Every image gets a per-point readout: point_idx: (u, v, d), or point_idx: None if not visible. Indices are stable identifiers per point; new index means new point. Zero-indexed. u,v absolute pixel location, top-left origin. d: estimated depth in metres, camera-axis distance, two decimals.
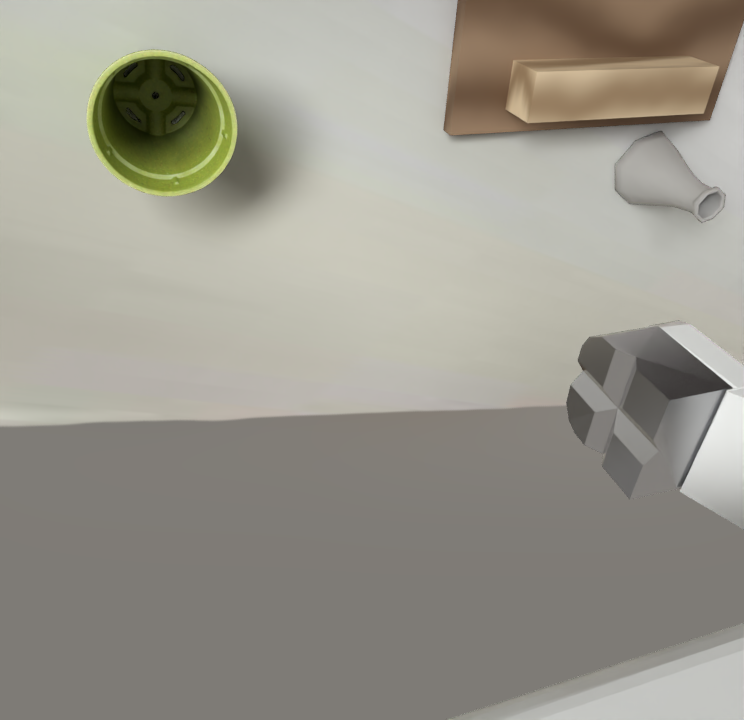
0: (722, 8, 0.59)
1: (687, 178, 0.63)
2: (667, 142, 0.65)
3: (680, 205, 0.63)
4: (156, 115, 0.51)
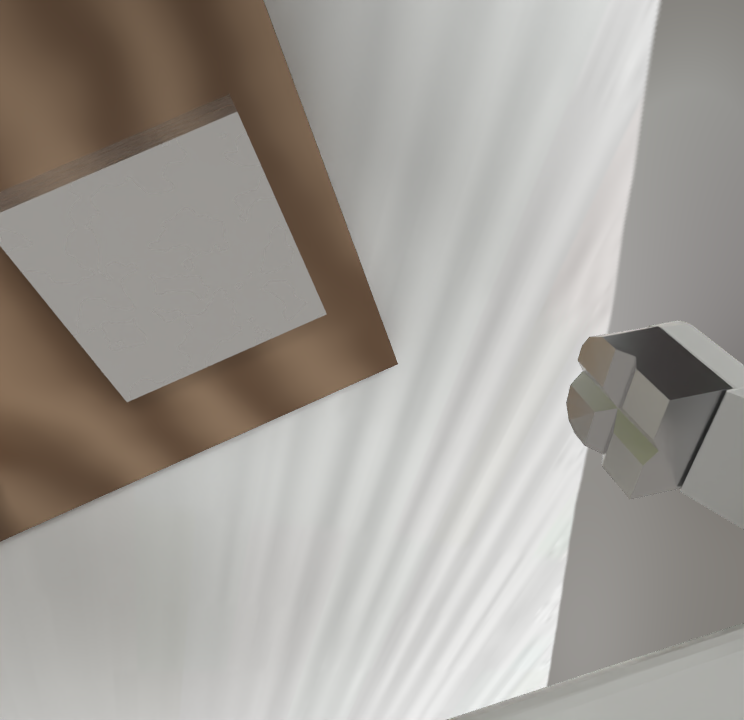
0: (78, 469, 0.42)
1: None
2: None
3: None
4: None
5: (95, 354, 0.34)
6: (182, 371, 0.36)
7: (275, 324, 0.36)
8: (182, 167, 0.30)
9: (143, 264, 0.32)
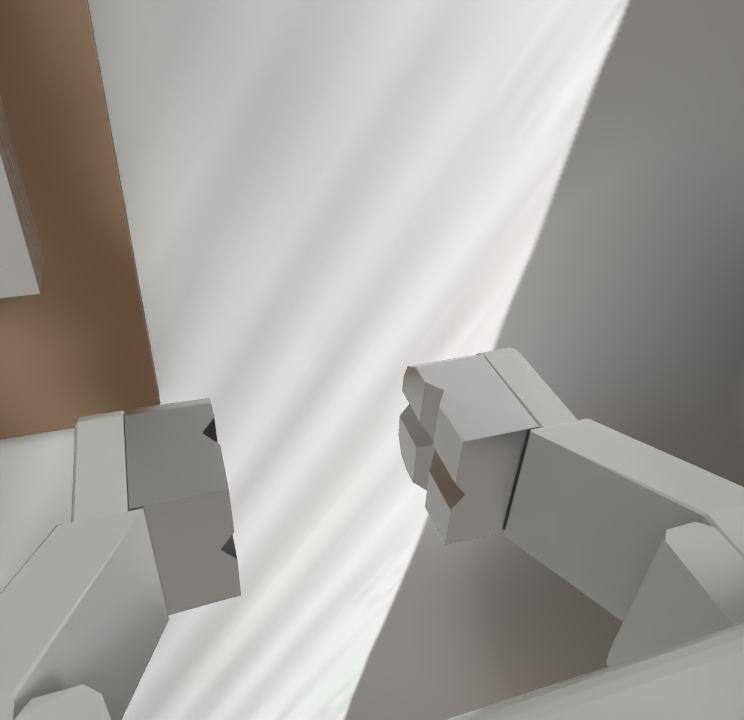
0: None
1: None
2: None
3: None
4: None
5: None
6: None
7: None
8: None
9: None
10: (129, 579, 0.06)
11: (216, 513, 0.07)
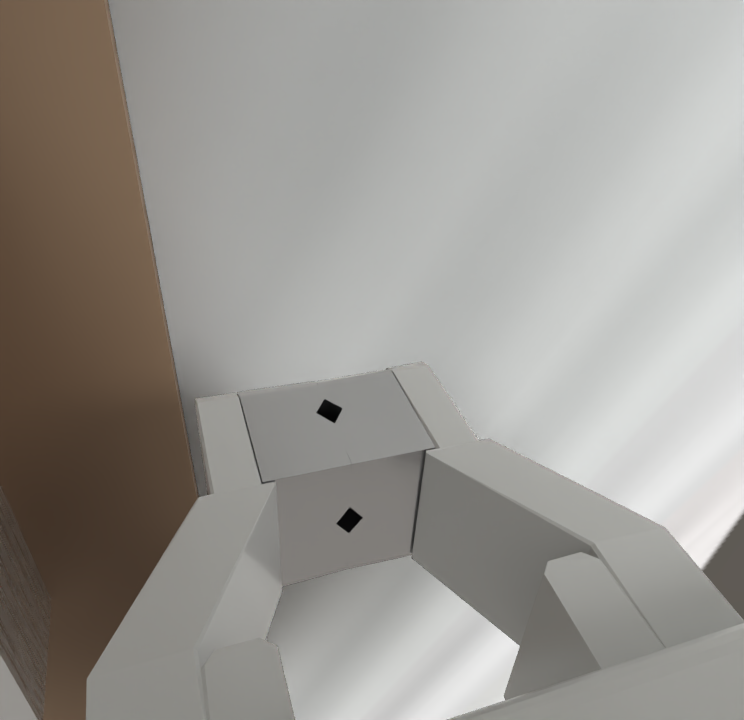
0: None
1: None
2: None
3: None
4: None
5: None
6: None
7: None
8: None
9: None
10: (264, 548, 0.07)
11: (337, 488, 0.07)
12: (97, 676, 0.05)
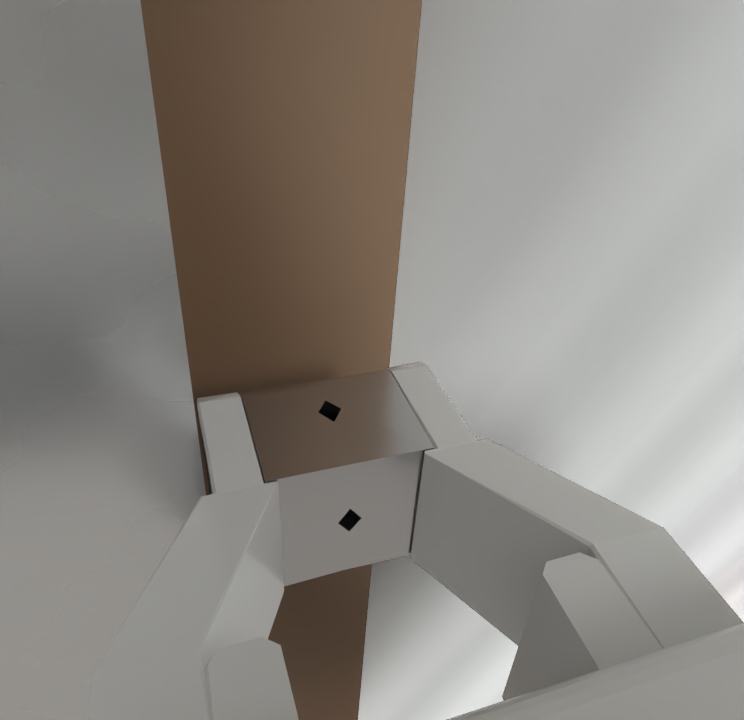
0: None
1: None
2: None
3: None
4: None
5: None
6: None
7: None
8: None
9: None
10: (266, 547, 0.07)
11: (339, 487, 0.07)
12: (100, 675, 0.05)
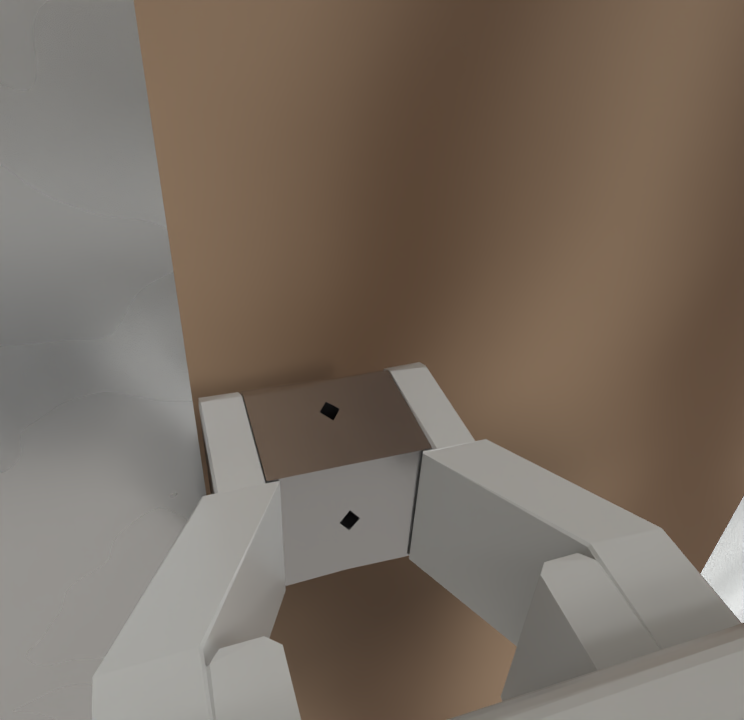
0: None
1: None
2: None
3: None
4: None
5: None
6: None
7: None
8: None
9: None
10: (268, 547, 0.07)
11: (341, 487, 0.07)
12: (103, 674, 0.05)
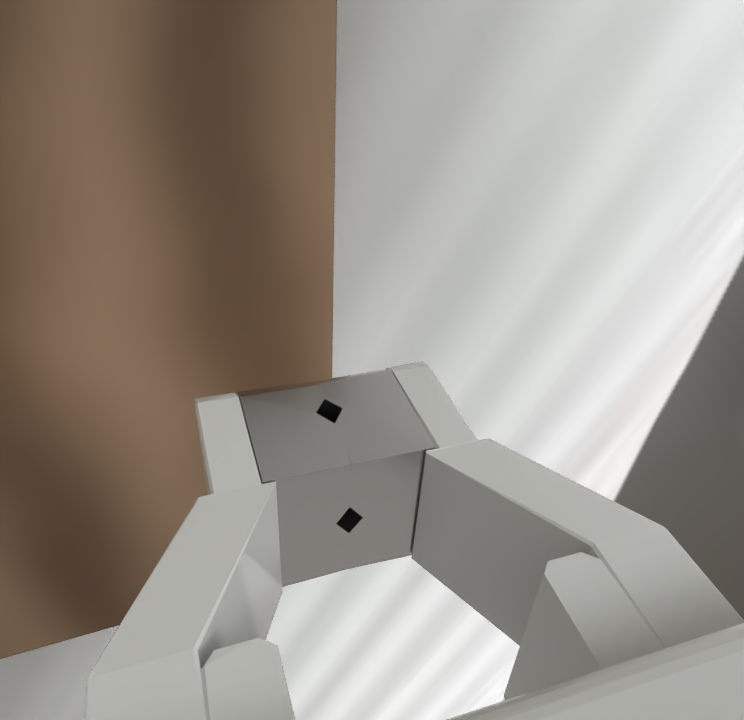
0: None
1: None
2: None
3: None
4: None
5: None
6: None
7: None
8: None
9: None
10: (264, 548, 0.07)
11: (337, 487, 0.07)
12: (97, 677, 0.05)
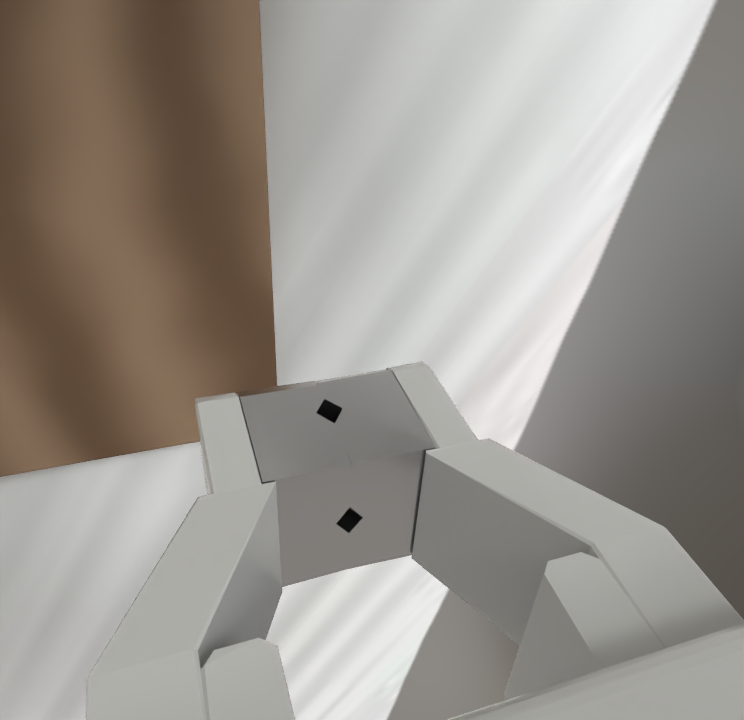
0: None
1: None
2: None
3: None
4: None
5: None
6: None
7: None
8: None
9: None
10: (264, 548, 0.07)
11: (338, 488, 0.07)
12: (98, 676, 0.05)
